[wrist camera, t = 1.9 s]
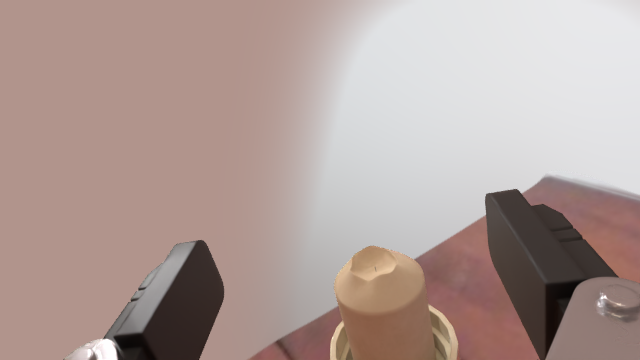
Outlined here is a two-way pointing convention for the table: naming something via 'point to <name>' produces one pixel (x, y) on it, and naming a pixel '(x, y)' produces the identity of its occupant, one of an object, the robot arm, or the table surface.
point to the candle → (385, 306)
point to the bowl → (441, 333)
